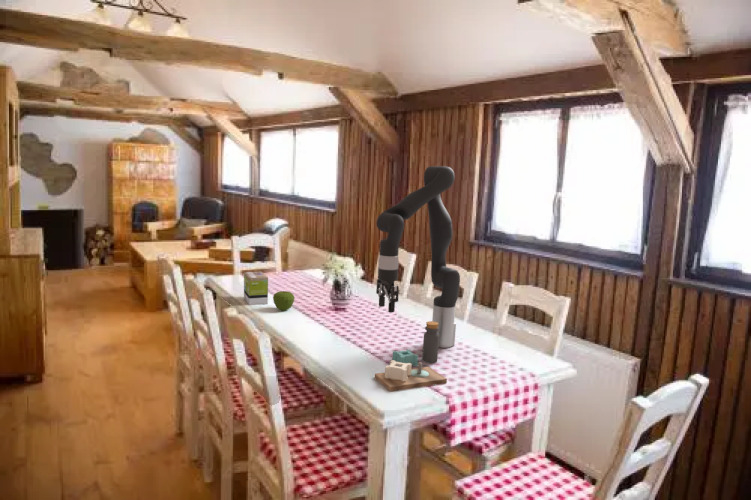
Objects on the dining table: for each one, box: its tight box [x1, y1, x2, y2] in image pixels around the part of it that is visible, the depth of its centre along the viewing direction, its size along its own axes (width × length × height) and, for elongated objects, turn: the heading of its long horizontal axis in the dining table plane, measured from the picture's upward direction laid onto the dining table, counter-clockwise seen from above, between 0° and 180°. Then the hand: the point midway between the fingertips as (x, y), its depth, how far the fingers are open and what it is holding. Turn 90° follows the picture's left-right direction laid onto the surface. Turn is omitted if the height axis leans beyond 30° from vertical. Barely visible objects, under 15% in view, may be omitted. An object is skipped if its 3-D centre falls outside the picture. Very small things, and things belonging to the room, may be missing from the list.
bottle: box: [421, 320, 439, 364], centre depth 203 cm, size 6×6×15 cm
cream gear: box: [384, 359, 413, 382], centre depth 181 cm, size 8×8×4 cm
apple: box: [272, 290, 295, 312], centre depth 264 cm, size 11×10×10 cm
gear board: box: [374, 361, 448, 392], centre depth 183 cm, size 22×12×6 cm, turn 116°
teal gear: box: [391, 348, 419, 367], centre depth 199 cm, size 8×8×4 cm
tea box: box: [243, 271, 269, 306], centre depth 278 cm, size 15×10×15 cm
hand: (386, 309), depth 198 cm, fingers open, 8 cm apart
